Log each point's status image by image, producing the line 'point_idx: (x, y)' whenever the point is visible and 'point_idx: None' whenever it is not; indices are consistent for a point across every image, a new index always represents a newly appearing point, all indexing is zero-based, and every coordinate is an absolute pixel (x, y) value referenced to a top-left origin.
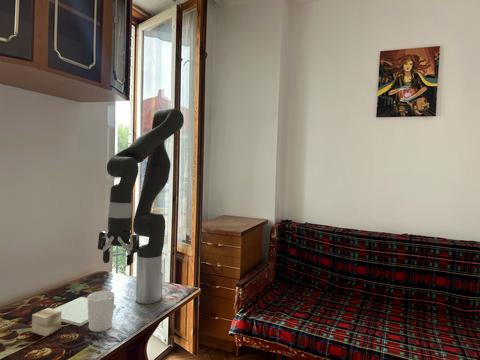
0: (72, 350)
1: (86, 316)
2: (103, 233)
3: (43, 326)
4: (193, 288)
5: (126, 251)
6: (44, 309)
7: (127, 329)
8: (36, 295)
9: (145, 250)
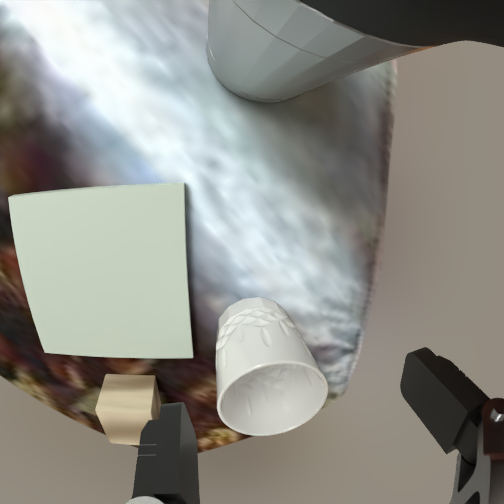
0: None
1: (168, 318)
2: None
3: None
4: None
5: (456, 477)
6: (99, 419)
7: (340, 301)
8: None
9: (487, 38)
